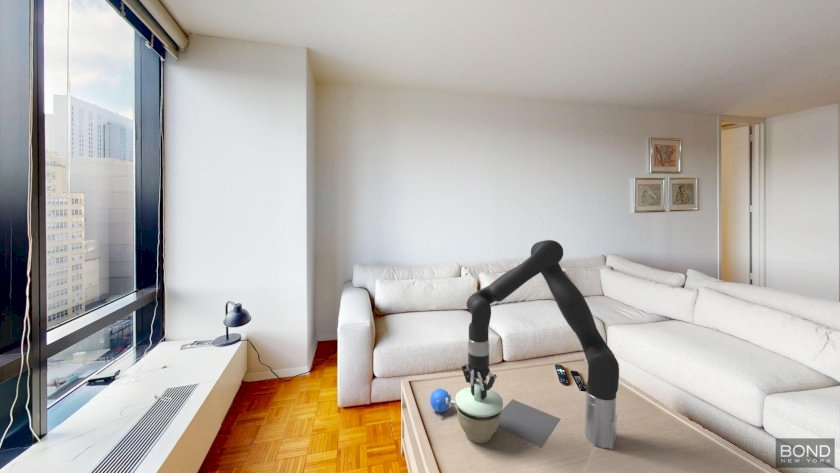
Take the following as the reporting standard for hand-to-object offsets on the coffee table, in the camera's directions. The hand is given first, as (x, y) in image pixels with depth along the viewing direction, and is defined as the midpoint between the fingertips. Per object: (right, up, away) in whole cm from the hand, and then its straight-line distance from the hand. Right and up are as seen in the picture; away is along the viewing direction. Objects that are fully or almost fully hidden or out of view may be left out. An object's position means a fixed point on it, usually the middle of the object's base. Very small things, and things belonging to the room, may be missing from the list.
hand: (478, 396), depth 115 cm
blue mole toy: (-11, -14, +15) cm, 24 cm away
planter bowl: (0, -15, +1) cm, 15 cm away
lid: (0, -2, 0) cm, 2 cm away
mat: (+20, -14, +8) cm, 25 cm away
